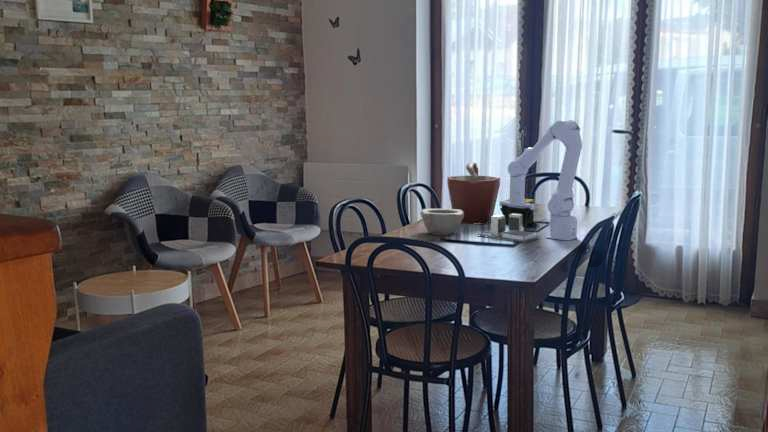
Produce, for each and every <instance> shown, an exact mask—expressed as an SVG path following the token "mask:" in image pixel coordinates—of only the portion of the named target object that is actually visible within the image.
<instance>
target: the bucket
mask: <svg viewBox="0 0 768 432" xmlns="http://www.w3.org/2000/svg"><path fill="white" fill-rule="evenodd" d="M465 169H466V171H467V172H468V173H469V174H467V175H466V174H463V175H450V176H447V177H446V178H447V183H446V185H447V190H448V195H449V200H450V201H449V202H450V209H460V210H462V211H463V212H464V218H463V220H462V221H461V223H460V224H465V225H466V224H467V225H475V224H474V223H483V224H488V223H490V222H491V216H494V213H495V208H496V204H497V199H498V197H499V196H498V195H499V192H500V186H501V178H500V177H496V176H490V175H479V167H478V165H477V163H476V162H468V163H467V164H466V167H465ZM489 221H490V222H489ZM487 222H488V223H487Z"/></svg>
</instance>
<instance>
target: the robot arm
mask: <svg viewBox="0 0 768 432" xmlns="http://www.w3.org/2000/svg"><path fill="white" fill-rule="evenodd" d="M580 132H581V126H579V124H577V122H576V121H575V120H571V119H569V120H556V121H555V122H554V123H553V124H552V125H551V126H549V127H548V129H547V130H546V132H545V133H544V134H543V135H542V136H541V138H540V139H539V140H538V141H537V142H536V143H535V145H533V147H528V148H526V147H525V148H524V149H523V152H522V153H521V154H520V156H518V157H516V159H515V161H511V162H510V163H509V164H508V166H507V172H508V174H509V175H510V178H509V199H510V201H505V200H500V201H499V204H498V205H499V207H500V211H501V215H505V218H506V226H509V214H510V213H511V208H512V207H515V208H524V209H523V210H522V215H523V227H524V228H527V226H528V225H527V223H528V220H529V218H530V215H531V214H532V212H533V213H534V211H533V210H535V203H534V204H529V203H524V199H525V192H526V191H525V189H526V188H525V187H526V186H525V185H526V177H527V176H526V175H527V173H529V169H530V168H531V167H532V166H533V165H534V164H535V163H536V162H537V161H538V160H539V158H540V153H541V152H543V150H545V149H546V148H547V147H548V146H549V145H550V144H551V143H553V141H555V140H558V141H560V142H561V143H562V145H564V147H565V152H564V157H563V160H562V165H561V169H560V172H559V178H558V182H557V186H556V190H554V191H553V193H552V195H551V198H550V200H549V201H548V202H547V209H548V212H549V213H550V220H549V221H550V225H549V227H550V228H549V235H546V236H545V238H546V239H553V240H561V241H572V240H574V239H577V238H578V236H577V235H578V230H577V229H578V219H577V217H576V216H574V215H573V216H572V215H571V211H572V210H573V209H574V207H575V206H574V205H575V202H574V196H575V195H574V193H573V191H572V190H573V185H574V182H575V177H576V173H577V170H578V165H579V161H580V156H581V153H582V152H581V151H582V148H583V141H582V137H581V133H580ZM519 206H520V207H519Z"/></svg>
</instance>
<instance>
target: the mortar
mask: <svg viewBox="0 0 768 432" xmlns="http://www.w3.org/2000/svg"><path fill="white" fill-rule="evenodd" d="M420 215H421V219H422V222H423V224H424V227H425V228H426V230H427V232H428V233H429V234H431V235H435V236H450V235H453V234H455V232H456V231H457V230H458V229H459V226H460V225H461V224H462V223H461V221H462V220H463V218H464V212H463V211H462V210H460V209H452V208H423V209H422V210H421V211H420Z"/></svg>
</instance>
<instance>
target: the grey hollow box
mask: <svg viewBox="0 0 768 432" xmlns="http://www.w3.org/2000/svg"><path fill="white" fill-rule="evenodd" d="M506 226H507V225H506V218H505V215H503V214H495V215H494V214H493V216H491V221H490V230H487V231H484V232H481V233H478V234H477V236H478V235H480V236H487V237H494V238H500V239H499V240H501V239H507V240H506V241H509V240H513V241H512V242H516V241H518V243H528V242H530V241H534V240H537V239H539V235H538V232H532V231H518V230H514V231H511V232H509V231H506V230H507V229H506ZM480 236H479V237H480ZM487 237H486V238H487ZM494 238H493V239H494Z"/></svg>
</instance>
